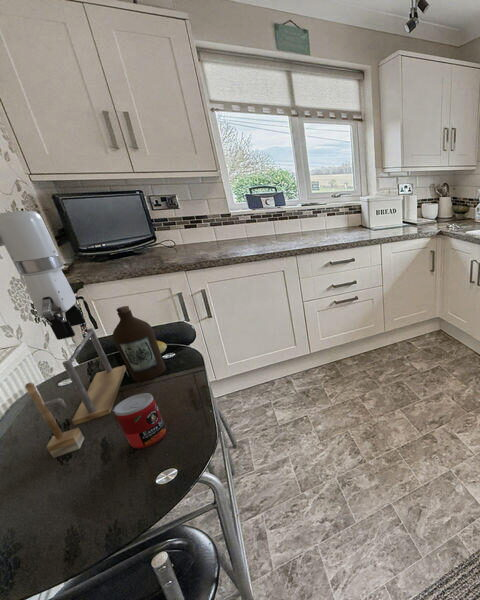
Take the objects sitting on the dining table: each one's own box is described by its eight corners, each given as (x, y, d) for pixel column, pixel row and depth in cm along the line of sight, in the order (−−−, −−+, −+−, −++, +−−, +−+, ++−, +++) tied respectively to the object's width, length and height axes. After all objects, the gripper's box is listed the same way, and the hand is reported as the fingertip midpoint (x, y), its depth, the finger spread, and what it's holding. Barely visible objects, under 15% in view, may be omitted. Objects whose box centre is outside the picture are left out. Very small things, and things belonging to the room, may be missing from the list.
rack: (74, 425, 90) (43, 370, 84) (98, 376, 115) (75, 330, 108) (110, 413, 94) (83, 359, 88) (126, 368, 118) (106, 323, 112)
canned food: (149, 451, 79) (132, 414, 75) (122, 448, 80) (104, 412, 76) (174, 428, 86) (160, 393, 82) (149, 426, 87) (134, 392, 83)
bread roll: (138, 360, 123) (134, 351, 122) (146, 350, 131) (142, 341, 130) (164, 355, 126) (160, 346, 124) (169, 345, 134) (166, 336, 132)
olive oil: (132, 373, 115) (103, 307, 106) (167, 362, 120) (143, 299, 111) (130, 387, 106) (98, 317, 98) (168, 374, 112) (141, 307, 103)
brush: (53, 458, 79) (12, 391, 72) (59, 447, 83) (20, 381, 76) (83, 447, 82) (47, 381, 75) (88, 436, 86) (53, 373, 78)
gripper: (32, 262, 82) (63, 324, 88) (0, 276, 68) (39, 348, 74) (72, 256, 85) (99, 316, 91) (49, 269, 71) (82, 338, 77)
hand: (72, 330), depth 83 cm, fingers open, 9 cm apart
